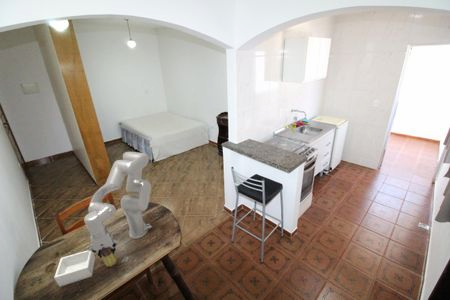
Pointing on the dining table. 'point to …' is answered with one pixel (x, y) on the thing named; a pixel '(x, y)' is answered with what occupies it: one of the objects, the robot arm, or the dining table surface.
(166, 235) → the dining table surface
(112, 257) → the sauce bottle
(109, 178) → the robot arm
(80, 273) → the storage box
